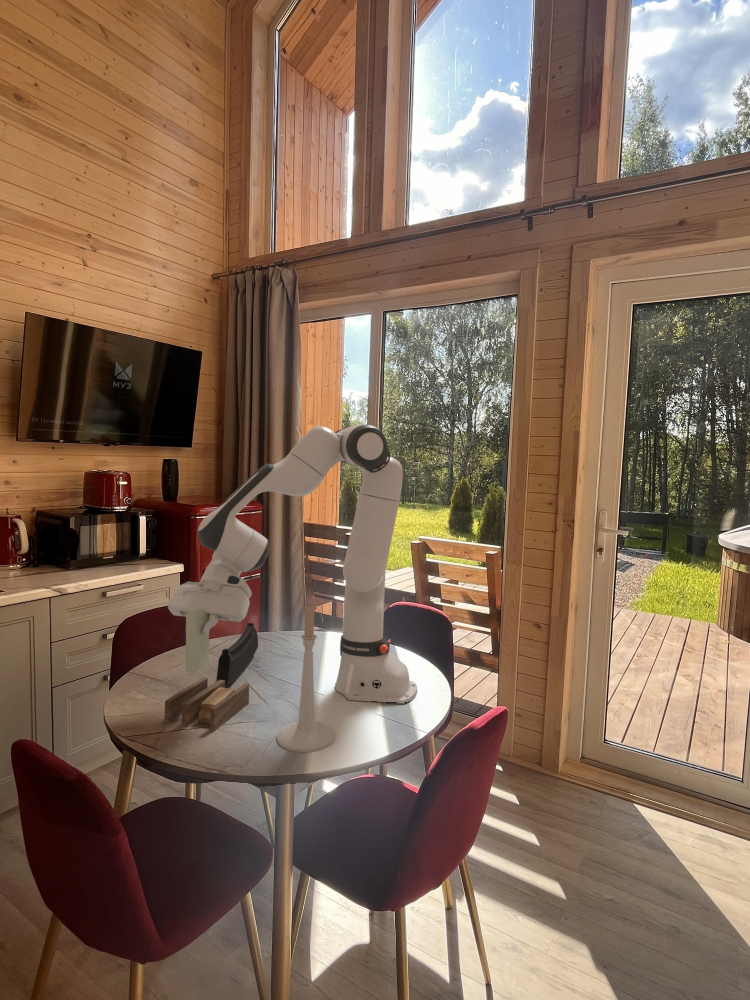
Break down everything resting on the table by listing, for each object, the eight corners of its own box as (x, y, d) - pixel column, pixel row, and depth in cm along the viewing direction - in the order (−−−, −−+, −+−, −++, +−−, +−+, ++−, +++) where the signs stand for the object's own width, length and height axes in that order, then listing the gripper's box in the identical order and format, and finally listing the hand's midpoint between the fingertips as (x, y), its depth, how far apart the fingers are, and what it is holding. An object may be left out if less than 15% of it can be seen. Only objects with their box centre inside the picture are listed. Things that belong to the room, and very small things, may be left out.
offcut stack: (234, 706, 143) (234, 688, 143) (215, 725, 132) (215, 706, 132) (218, 704, 143) (219, 687, 143) (198, 724, 133) (199, 705, 132)
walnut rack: (248, 703, 144) (249, 684, 144) (214, 730, 129) (215, 709, 129) (203, 696, 148) (203, 677, 148) (164, 722, 132) (165, 701, 132)
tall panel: (208, 664, 141) (208, 608, 141) (194, 672, 136) (194, 614, 135) (200, 663, 142) (200, 607, 141) (185, 671, 136) (186, 613, 135)
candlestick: (273, 727, 132) (277, 598, 130) (328, 722, 135) (332, 597, 134) (280, 754, 120) (284, 612, 118) (340, 748, 123) (344, 610, 121)
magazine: (225, 661, 149) (256, 602, 177) (213, 660, 149) (245, 601, 177) (230, 715, 154) (259, 649, 183) (218, 714, 155) (248, 649, 183)
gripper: (177, 574, 147) (153, 621, 138) (249, 580, 142) (228, 629, 133) (187, 588, 152) (164, 634, 143) (257, 594, 146) (238, 643, 137)
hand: (196, 632), depth 138 cm, fingers closed on tall panel, 2 cm apart
